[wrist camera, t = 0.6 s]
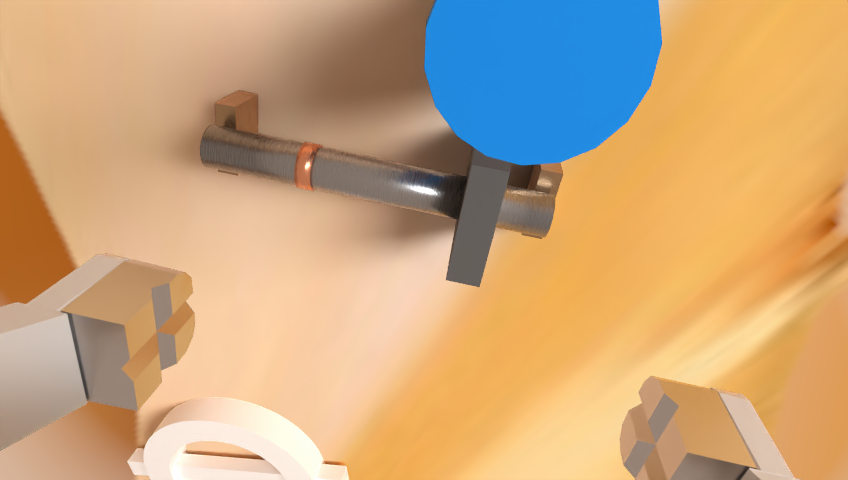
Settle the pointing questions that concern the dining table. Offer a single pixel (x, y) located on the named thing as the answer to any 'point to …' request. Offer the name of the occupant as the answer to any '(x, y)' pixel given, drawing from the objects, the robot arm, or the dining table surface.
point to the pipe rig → (363, 172)
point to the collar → (477, 218)
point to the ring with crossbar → (235, 424)
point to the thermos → (540, 72)
